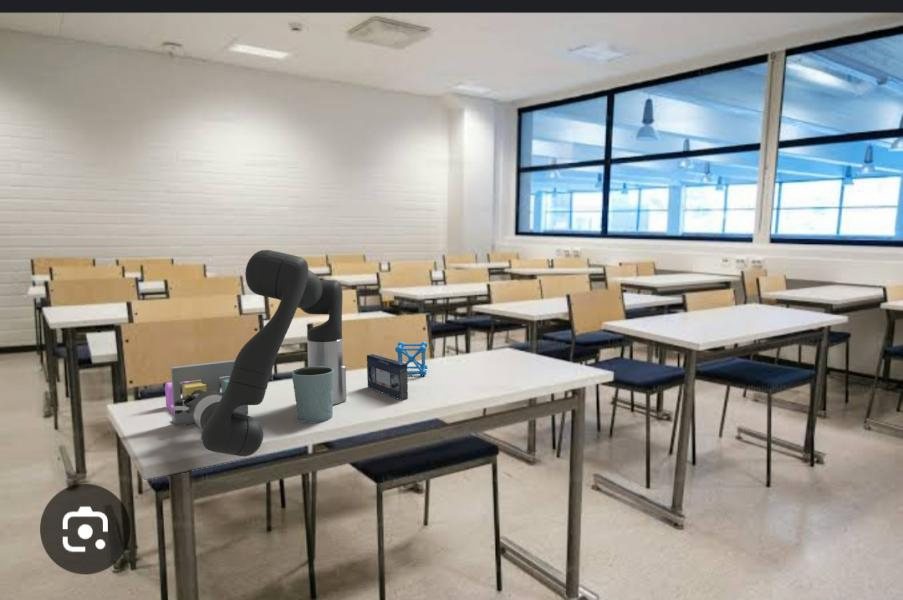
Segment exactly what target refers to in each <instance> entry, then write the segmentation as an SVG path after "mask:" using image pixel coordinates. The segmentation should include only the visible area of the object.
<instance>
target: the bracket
mask: <svg viewBox="0 0 903 600" xmlns="http://www.w3.org/2000/svg"><path fill="white" fill-rule="evenodd" d="M187 382H191V381H186V382H181V384H182V383H187ZM164 389H165V390H164V391H165V406H167V407H168V408H169V409H168V408H167V407H166V408H167V409H168V410H169V411H171V412H172V413H173V414H174V411H173V392H172V381H170V382H165V384H164ZM181 398H183V397H182V396H181Z"/></svg>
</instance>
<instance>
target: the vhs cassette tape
mask: <svg viewBox="0 0 903 600" xmlns="http://www.w3.org/2000/svg"><path fill="white" fill-rule="evenodd" d="M404 363H405V362H403V361H402V362H398V360H396V359H392V358H388V357H384V356H380V355H377V354H374V353H373V354H367V355H366V371H367V372H366V375H367V376H366V377H367V378H366V379H367V388H369V387H370V388H369V389H371V388H373V389H372V390H374V389H375V390H374V391H376V390H378V391H377V392H379V391H380V392H379V393H381V392H383V393H382V394H384V393H385V394H384V395H386V394H388V395H387V396H389V395H390V396H389V397H392V396H393V397H392V398H394V397H395V399H397V398H398V399H397V400H399V399H403V400H405V398H406V399H407V398H409V395H408V394H409V393H408V392H409V391H408V389H409V387H408V386H409V385H408V380H409V378H408V374H407V372H408V369H407V366H408V365H407V364H404Z"/></svg>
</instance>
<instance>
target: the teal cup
mask: <svg viewBox="0 0 903 600" xmlns="http://www.w3.org/2000/svg"><path fill="white" fill-rule="evenodd" d="M291 376H292V377H291V379H292V383H293V384H292V385H293V389H294V390H293V391H294V392H293V393H294V398H295V402H296V403H295V405H296V406H295V407H296V413H297V414H296V415H297V420H298V421H299V420H300V421H299V422H302V421H303V422H302V423H308V422H314V423H322V422H326V421H329V420H331V419H332V418H333V414H334V413H333V412H334V411H333V410H334V408H333V407H334V406H333V404H332V403H333V402H332V401H333V392H332V391H333V379H334V369H333V368H331V367H325V366H312V367H308V366H305V367H300V368H295V369H294V370H292V371H291ZM328 419H329V420H328ZM321 421H322V422H321Z"/></svg>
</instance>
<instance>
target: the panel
mask: <svg viewBox="0 0 903 600" xmlns="http://www.w3.org/2000/svg"><path fill="white" fill-rule="evenodd" d="M235 360H236V359H231V360H222V361H212V362H206V363H205V362H204V363H195V364H184V365H179V366H178V365H177V366H176V365H175V366H171V367H170V370H171V371H170V372H171V382H172V392H173V411H174V413H173V416H172V417H171V421H172V423H173V425H174V426H175V427H177V426H178V425H179V426H184V424H185V425H191V424H196V423H195V421H194V420H193V418H192V416H191V414H189V413H187V412H186V410H185V412H181V413H179V414H175V410H174V402H175V401H177V400H179V399H181V398H182V388H181V383H182V382H186V381H190V382H194V381H200V382H201V383H202V384H206V389H207V391H216V392H221V378H226V377H230V375H231V372H232V369H233V366H234V362H235ZM236 410H237V411H238V412H241V413H243V414H246V415H249V405H241V406H239V407H237V408H236ZM190 423H191V424H190Z"/></svg>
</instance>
